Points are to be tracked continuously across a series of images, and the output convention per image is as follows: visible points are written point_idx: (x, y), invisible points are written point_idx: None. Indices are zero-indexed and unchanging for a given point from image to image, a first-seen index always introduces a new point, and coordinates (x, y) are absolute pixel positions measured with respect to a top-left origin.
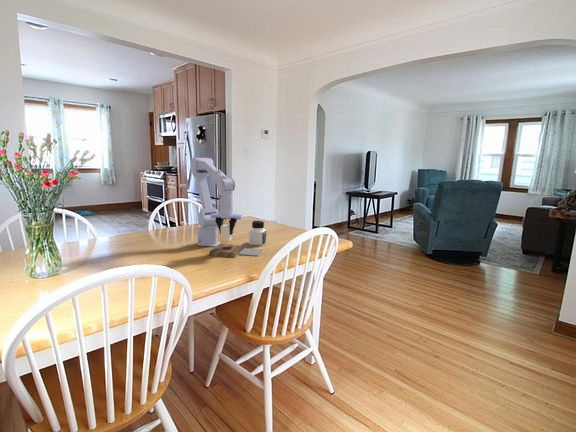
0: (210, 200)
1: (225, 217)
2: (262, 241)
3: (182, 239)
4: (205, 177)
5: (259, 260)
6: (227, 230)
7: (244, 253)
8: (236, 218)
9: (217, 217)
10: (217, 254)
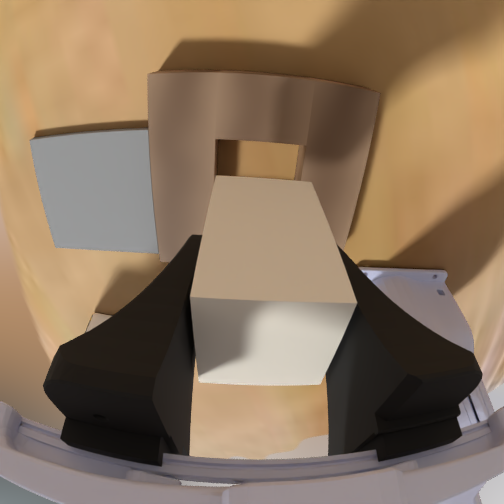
0: None
1: (237, 490)
2: (86, 329)
3: (481, 330)
4: None
5: (7, 69)
6: (229, 251)
7: (111, 148)
8: (57, 443)
9: (436, 448)
10: (308, 78)
